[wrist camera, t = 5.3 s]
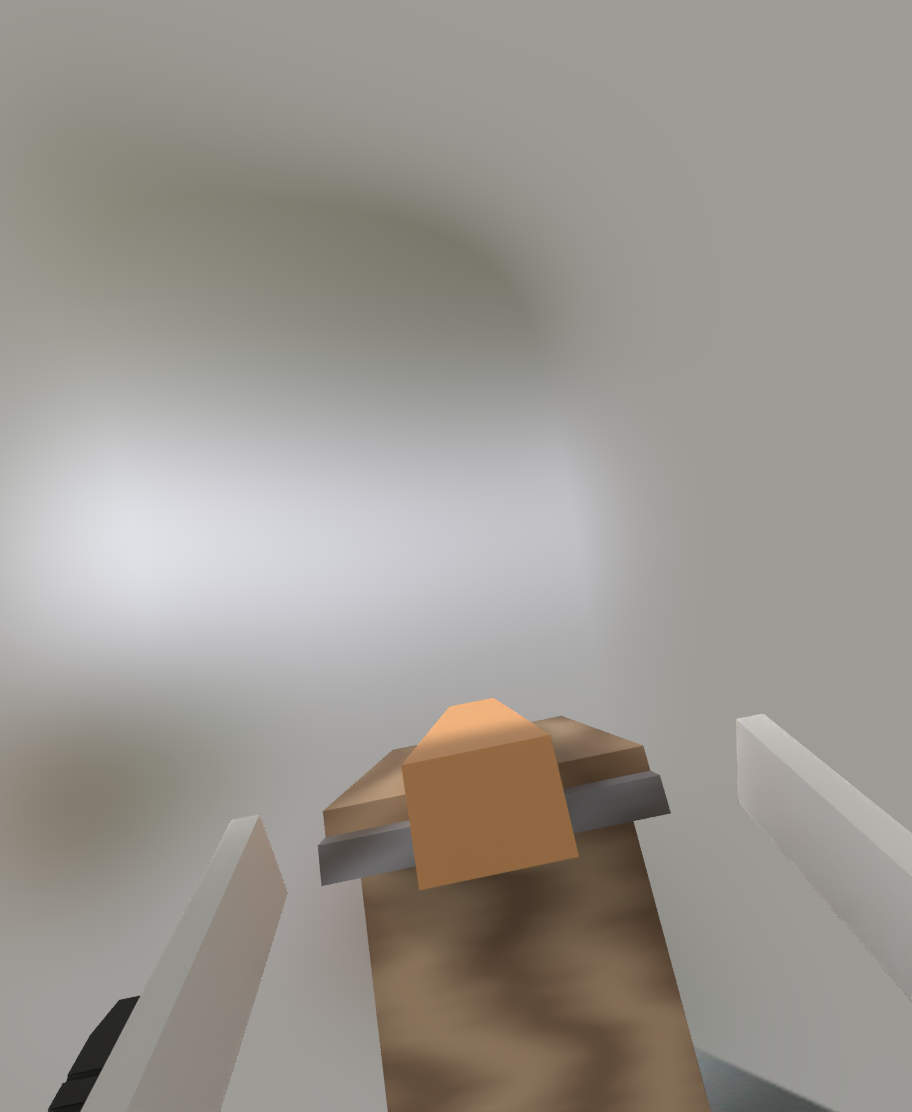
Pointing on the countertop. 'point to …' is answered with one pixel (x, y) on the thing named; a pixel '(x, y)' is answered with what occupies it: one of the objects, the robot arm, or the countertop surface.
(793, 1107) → the countertop surface
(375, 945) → the tower
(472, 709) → the tan flat bar
